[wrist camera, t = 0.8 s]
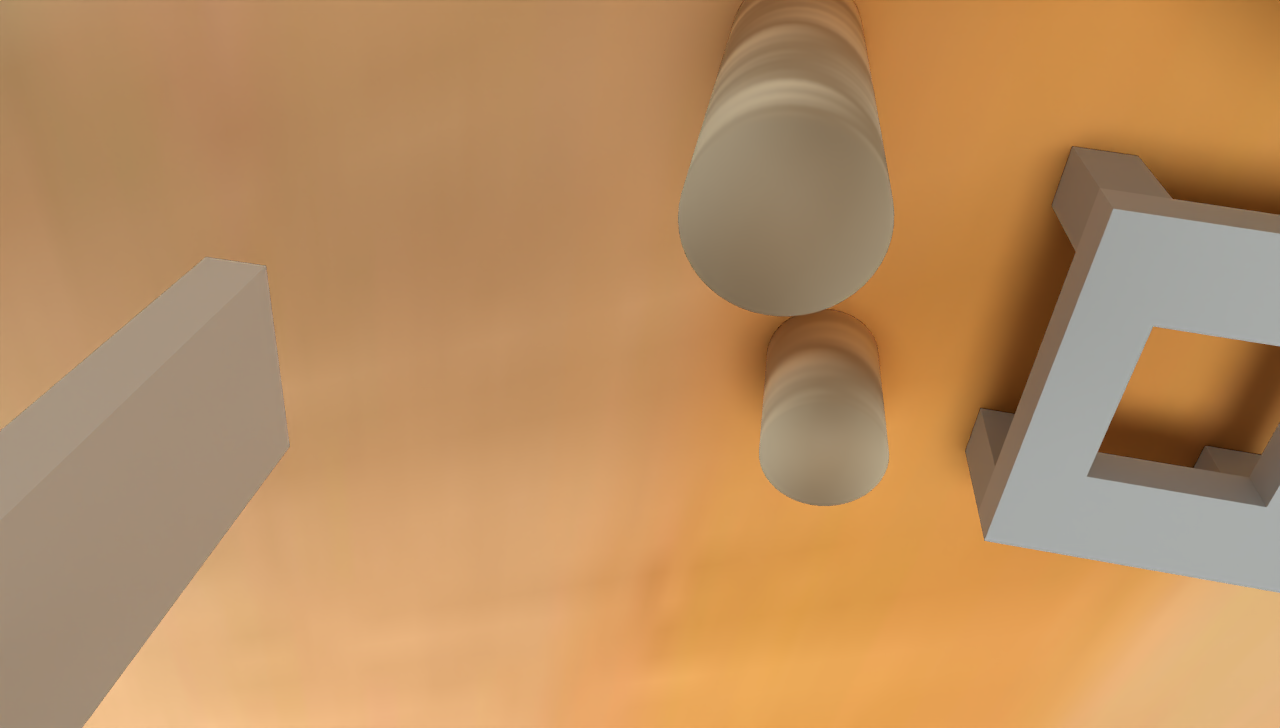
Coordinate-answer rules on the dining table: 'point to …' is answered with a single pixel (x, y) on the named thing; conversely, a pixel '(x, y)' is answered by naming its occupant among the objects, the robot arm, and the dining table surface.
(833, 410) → the short dowel
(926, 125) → the dining table surface
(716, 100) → the long dowel
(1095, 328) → the square frame with posts
